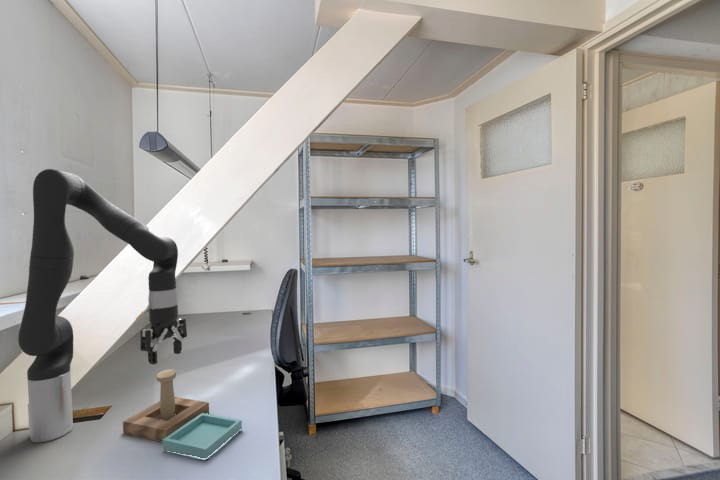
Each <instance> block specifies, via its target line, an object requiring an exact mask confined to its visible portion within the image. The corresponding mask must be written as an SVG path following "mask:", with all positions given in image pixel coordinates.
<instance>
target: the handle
mask: <svg viewBox="0 0 720 480" xmlns="http://www.w3.org/2000/svg"><path fill="white" fill-rule="evenodd" d="M176 376H177V371H176V370H175V369H171V368H170V369H165V370H161V371H160V372H159V373H157V375H156V381H157V382H158V383H160V398H159V399H160V400H159V401H160V411H161V420H164V421H168V420H169V419H171V418H173V417H174V416H176V415H175V398H174V397H175V391H174V379H176Z"/></svg>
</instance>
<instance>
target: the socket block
mask: <svg viewBox="0 0 720 480" xmlns="http://www.w3.org/2000/svg"><path fill="white" fill-rule="evenodd" d="M174 398H175V414H176V415H174V417H173V418H171V419H169V420H168V421H164V420H162V418H161V411H160V400H159V401H157V402H155V403H154V404H151V405H149V406H148V407H146V408H145V409H143V410H141V411H139V412H137V413H135V414H134V415H132V416H130V417H128V418H126V419H123V420H122V431H123V432H122V433H123V434H124V435H129V436H134V437H138V438H142V439H147V440H151V441H155V440H157V442H160V441H162V442H161V443H163V439H164V438H166V437H167V436H169V435H170V434H172V433H173V432H175V431H176V430H178V429H179V428H181V427H182V426H184V425H185V424H187V423H188V422H190V421H191V420H193V419H194V418H195V417H197V416H198V415H200V414H201V413H205V414H207V413H209V414H210V403H209V402H208V401H202V400H196V399H190V398H185V397H184V398H183V397H178V396H174Z"/></svg>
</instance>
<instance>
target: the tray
mask: <svg viewBox="0 0 720 480" xmlns="http://www.w3.org/2000/svg"><path fill="white" fill-rule="evenodd" d="M242 423H243V422H242V419H238V418H231V417H225V416H221V415H215V414H211V413H209V414H205V413H201V414H200V415H198V416H197V417H195V418H194V419H193V420H191V421H190V422H188V423H187V424H185V425H184V426H182V427H181V428H179V429H178V430H176V431H175V432H173V433H172V434H170V435H169V436H167V437H166V438H164V439H163V442H162V451H163V450H164V451H163V452H165V451H170V452H176V453H180V454H186V455H192V456H197V457H200V458H207V457H208V456H209V455H211V454H212V453H213V452H214V451H215V450H216V449H218V448H219V447H220V446H221V445H222V444H223V443H225V442H226V441H227V440H228V439H229V438H230V437H232V436H233V435H234V434H236V433H237V432H238V431H239V430H240V429H242V430H243V424H242Z"/></svg>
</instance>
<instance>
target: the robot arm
mask: <svg viewBox="0 0 720 480" xmlns="http://www.w3.org/2000/svg"><path fill="white" fill-rule="evenodd" d="M32 185H33V186H32V199H33V200H32V201H33V203H32V204H33V225H32V226H33V227H32V240H31V250H30V257H29V266H28V281H27V289H26V295H25V296H26V297H25V298H26V299H25V306H24V311H23V314H22V318H21V321H20V327H19V330H18V335H17V336H18V339H17V341H18V345H19V349H20V350H21V351H22V352H23V353H24V354H25V355H28V356H31V357H35V358H34V360H33V362H32V363H31V365H29V367H28V368H27V372H26V375H27V376H26V377H27V394H28V404H27V415H28V416H27V417H28V435H29V437H30V439H29V440H30V441H31V442H32V443H45V442H50V441H52V440H56V439H58V438H62V437H63V436H65V435H66V434H68V433H70V432H71V431H72V429H73V428H74V422H73V419H74V418H73V397H72V378H71V365H72V361H73V358H74V329H73V326H72V323H71V322H70V320H68V319H67V318H65V317H63V316H61V315H60V316H59V315H57V307H58V304H59V302H60V299H61V296H62V294H63V293H64V291H65V289H66V287H67V285H68V283H69V281H70V279H71V277H72V274H73V266H74V257H75V251H74V246H73V242H72V240H71V237H70V235H69V232H68V230H67V226H66V221H65V220H66V209H67V205H68V206H72V207H75V208H76V209H79V210H81V211H84V213H87V214H88V215H90V216H91V217H92V218H94V219H95V220H96V221H97V222H98V223H99V224H100V225H101V226H102V227H103V228H104V229H105V230H106V231H108V232H109V233H111V234H112V235H113V236H115V237H117V238H118V239H120V240H122V241H123V242H125V243H127V244H128V245H130V246H131V248H133V250H134V251H136V252H137V253H138V254H139V255H140V256H142V257H143V258H144V259H146V260H149V261H151V262H153V264H152V265H153V266H152V270H151V271H150V272H149V273H148V277H147V278H148V298H147V299H148V300H147V301H148V302H147V303H148V317H149V318H148V319H149V322H150V328H147V329H141V330H140V342H139V343H140V344H139V345H140V348H139V349H140V351H141V352H146V353H147V362H148V363H149V364H150V365H157V364H158V351H157V348H159V345H161V343H162V342H163V341H166V340H167V339H169V338H170V339H172V340H173V343H172V344H173V353H174V354H175V355H180V354H181V353H182V349H183V347H182V345H183V344H182V341H183V339H185V338H187V336H188V330H187V323H186V322H187V321H186V319H185V318H179V306H178V293H177V283H176V281H177V280H176V271H177V267H178V265H177V264H178V257H179V250H178V245H177V243H176V241H175V240H174V239H172V238H170V237H166V236H165V237H160V236H157V235H155V234H154V233H153V232H151V231H150V230H149V228H148V227H149V226H147V225H145V224H144V223H143V222H141V221H140V220H138V219H137V218H135V217H134V216H132V215H130V214H129V213H127V212H126V211H124V210H122V209H121V208H120V207H117V206H116V205H114V204H113V203H112V202H110V200H109V201H108V200H107V199H106V198H104V197H103V196H102V195H101V194H100V193H98V192H97V191H96V190H95V189H94V188H93V187H91V186H90V185H89V183H87V182H86V181H85V180H84V179H82V178H81V177H80V176H78V175H77V174H74V173H71V172H67V171H63V170H58V169H54V168H47V169H43V170H41V171H40V172H39V173H38V174H37V175H36V177H35V178H34V180H33V184H32Z"/></svg>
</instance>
